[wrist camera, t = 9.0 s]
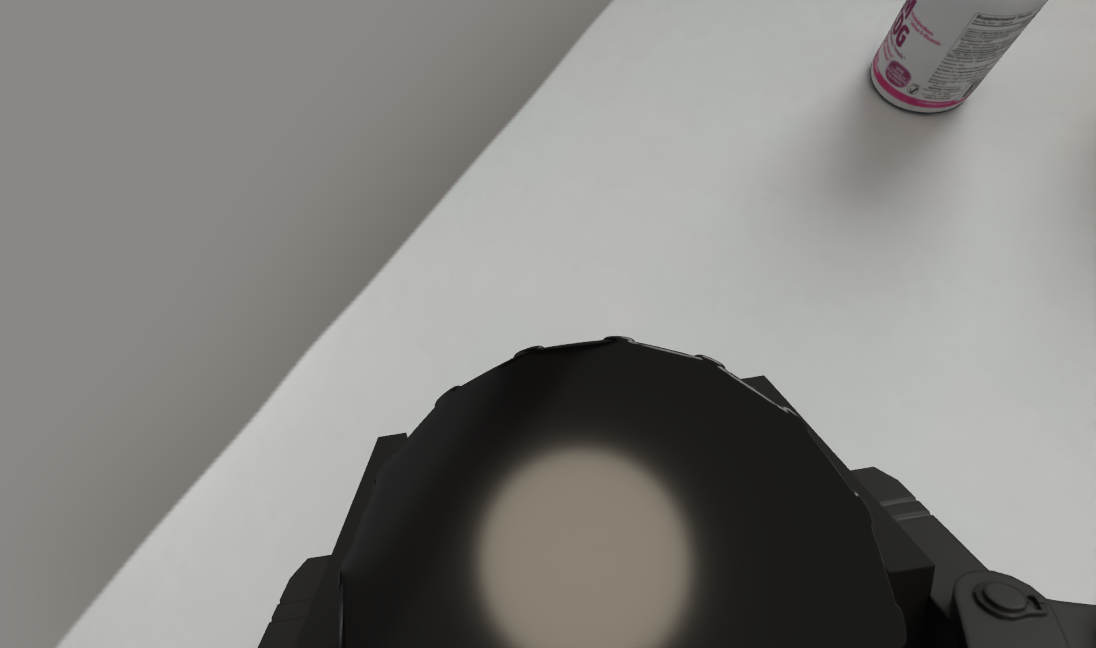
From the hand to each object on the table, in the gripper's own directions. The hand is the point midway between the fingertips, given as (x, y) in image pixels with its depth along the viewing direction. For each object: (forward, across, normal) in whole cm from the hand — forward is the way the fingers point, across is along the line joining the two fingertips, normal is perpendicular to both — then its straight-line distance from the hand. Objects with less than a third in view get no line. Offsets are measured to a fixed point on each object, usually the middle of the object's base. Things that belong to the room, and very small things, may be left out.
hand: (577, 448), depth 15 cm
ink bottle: (+1, 0, -5) cm, 5 cm away
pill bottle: (+16, +20, +7) cm, 27 cm away
